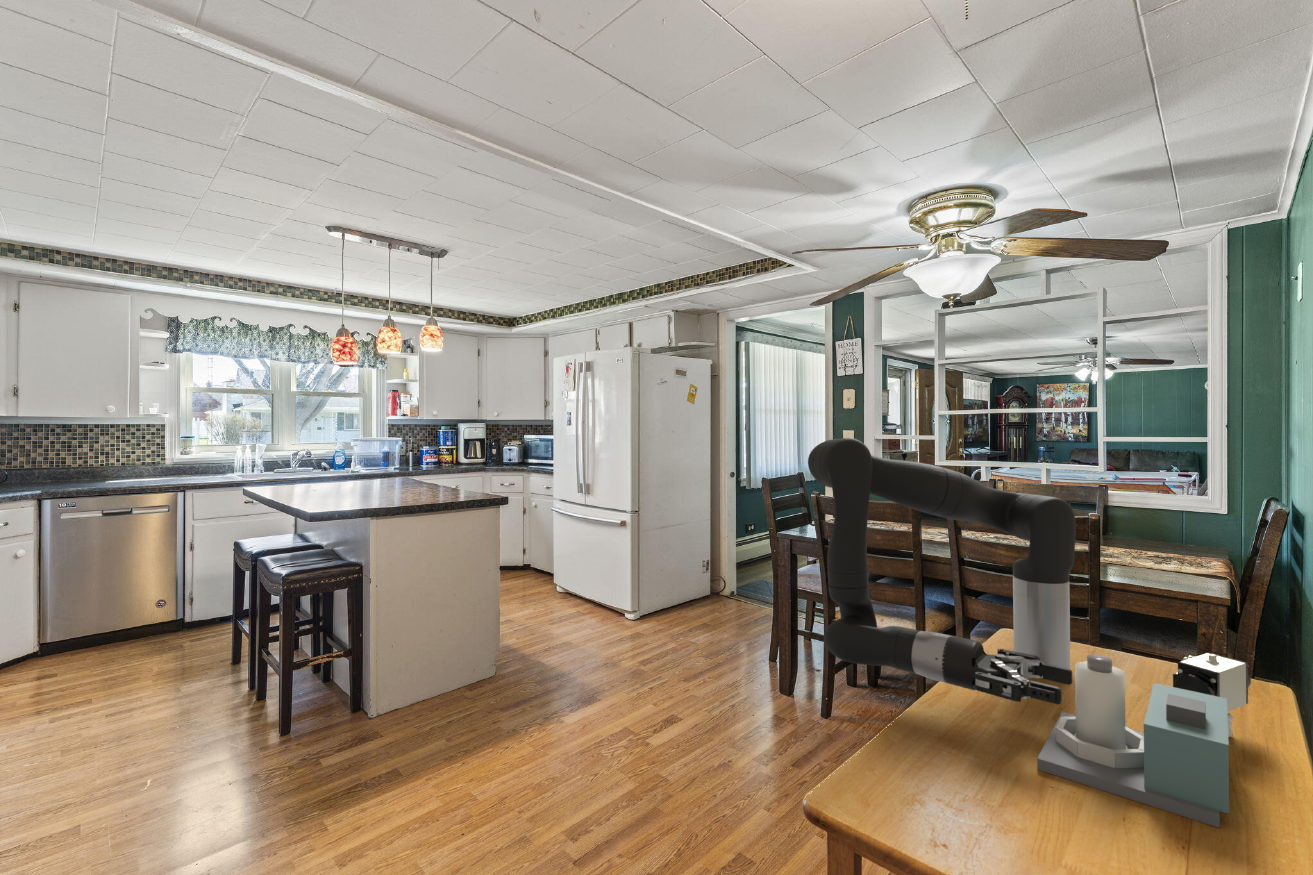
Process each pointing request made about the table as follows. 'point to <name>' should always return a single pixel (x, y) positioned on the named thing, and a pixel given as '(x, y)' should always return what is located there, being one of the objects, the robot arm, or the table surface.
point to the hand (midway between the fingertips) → (1067, 686)
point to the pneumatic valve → (1215, 679)
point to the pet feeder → (1155, 756)
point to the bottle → (1100, 703)
